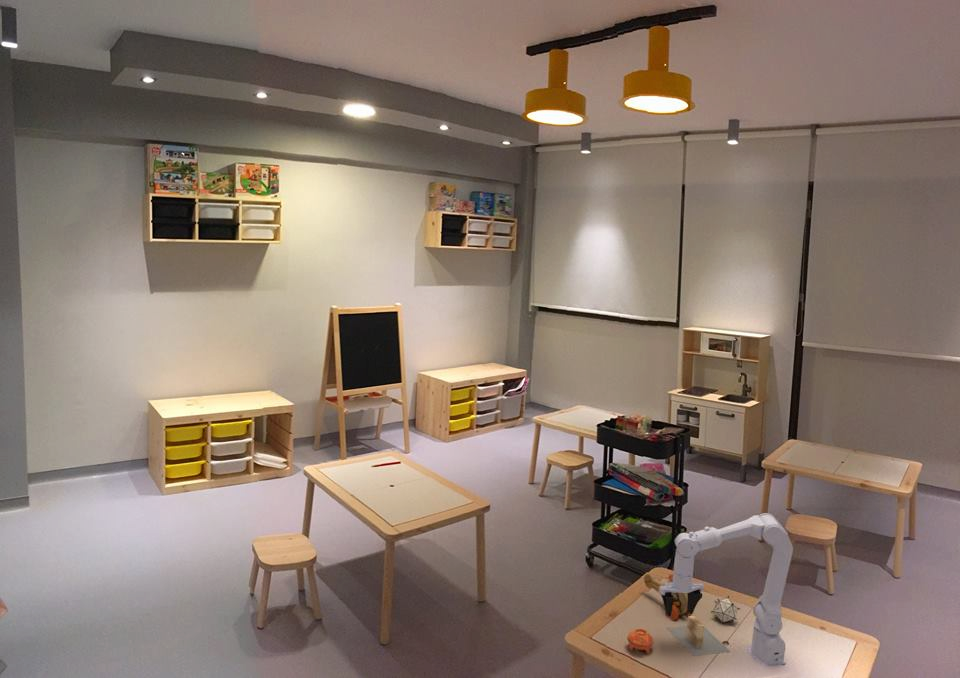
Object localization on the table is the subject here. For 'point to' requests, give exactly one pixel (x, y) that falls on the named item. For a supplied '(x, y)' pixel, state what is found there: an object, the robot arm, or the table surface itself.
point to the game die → (725, 610)
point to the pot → (640, 640)
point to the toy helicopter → (680, 598)
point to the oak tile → (695, 631)
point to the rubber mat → (709, 642)
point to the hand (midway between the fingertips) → (679, 613)
